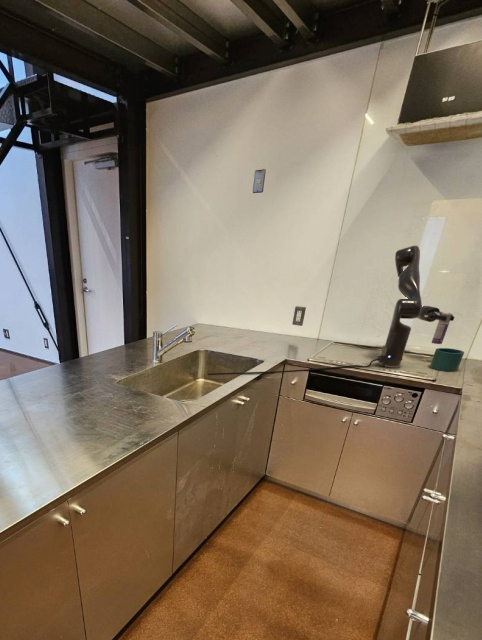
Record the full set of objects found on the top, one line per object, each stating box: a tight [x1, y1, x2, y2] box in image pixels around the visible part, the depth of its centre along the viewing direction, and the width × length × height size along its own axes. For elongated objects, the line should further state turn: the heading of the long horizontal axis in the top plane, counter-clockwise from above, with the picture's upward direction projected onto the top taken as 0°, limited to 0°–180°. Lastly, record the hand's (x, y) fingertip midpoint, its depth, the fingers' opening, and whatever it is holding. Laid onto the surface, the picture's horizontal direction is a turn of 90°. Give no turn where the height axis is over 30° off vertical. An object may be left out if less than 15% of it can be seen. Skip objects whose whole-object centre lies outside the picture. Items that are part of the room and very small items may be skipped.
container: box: [431, 312, 453, 345], centre depth 198 cm, size 5×5×15 cm
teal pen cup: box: [430, 347, 465, 372], centre depth 192 cm, size 12×12×9 cm
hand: (449, 318), depth 193 cm, fingers closed on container, 3 cm apart
